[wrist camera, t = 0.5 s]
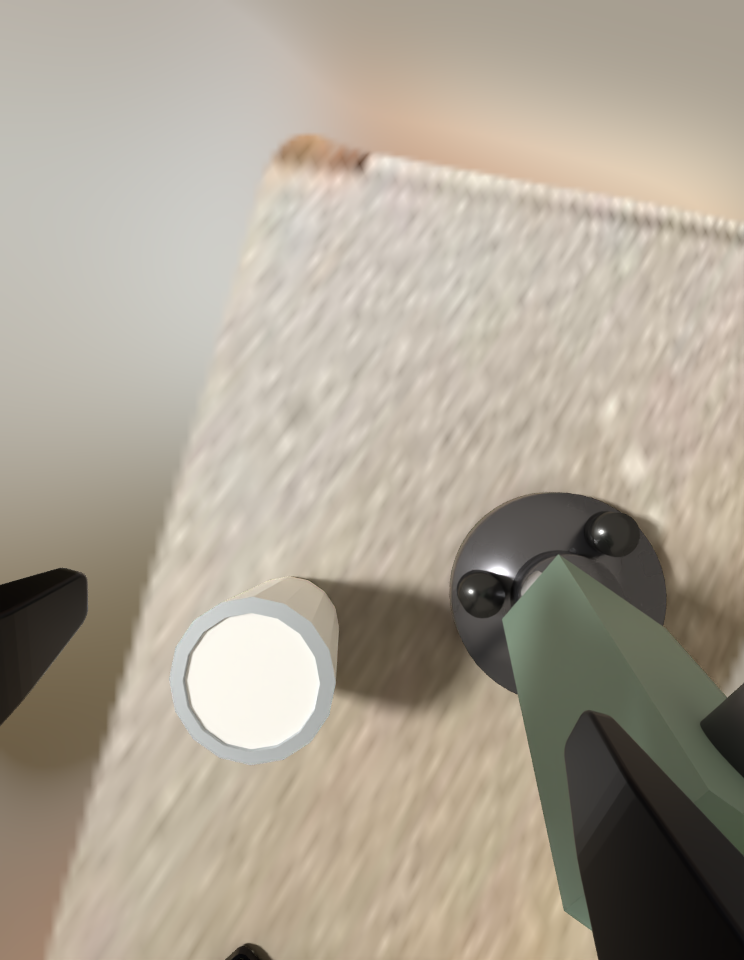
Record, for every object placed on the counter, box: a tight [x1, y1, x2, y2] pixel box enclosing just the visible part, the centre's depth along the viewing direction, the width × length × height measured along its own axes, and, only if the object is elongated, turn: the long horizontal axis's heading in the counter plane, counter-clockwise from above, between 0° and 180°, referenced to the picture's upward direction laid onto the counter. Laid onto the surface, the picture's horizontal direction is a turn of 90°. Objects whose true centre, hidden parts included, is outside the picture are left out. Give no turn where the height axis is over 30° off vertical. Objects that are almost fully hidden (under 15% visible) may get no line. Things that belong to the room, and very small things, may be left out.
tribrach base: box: [450, 492, 666, 694], centre depth 23 cm, size 11×11×3 cm
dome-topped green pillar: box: [502, 554, 744, 931], centre depth 14 cm, size 6×6×15 cm
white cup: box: [169, 576, 339, 765], centre depth 22 cm, size 7×7×7 cm
